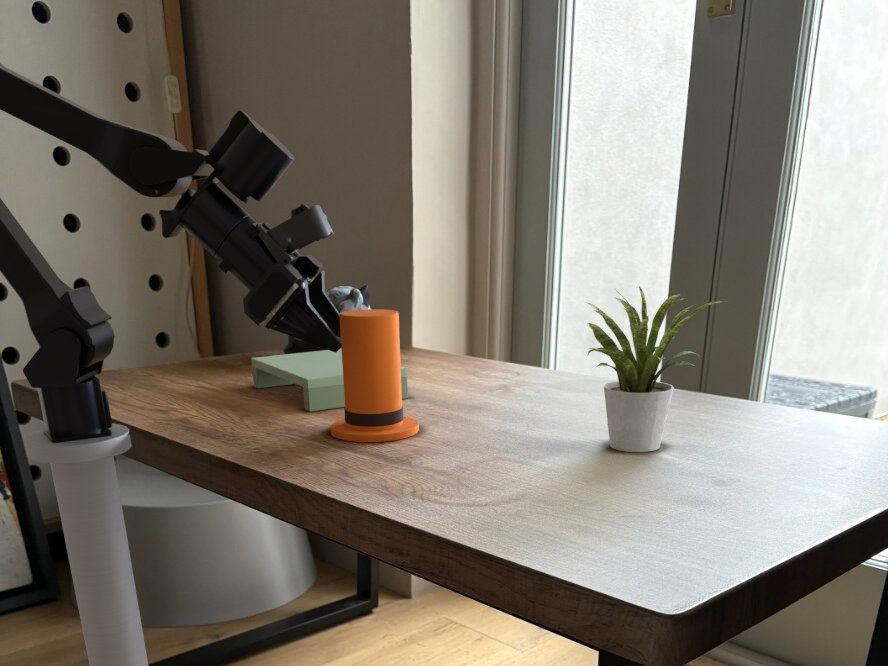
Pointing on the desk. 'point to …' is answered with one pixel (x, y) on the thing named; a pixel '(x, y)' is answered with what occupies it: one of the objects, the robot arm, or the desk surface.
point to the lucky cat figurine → (343, 301)
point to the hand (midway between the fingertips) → (344, 342)
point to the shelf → (309, 376)
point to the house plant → (639, 376)
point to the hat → (372, 378)
